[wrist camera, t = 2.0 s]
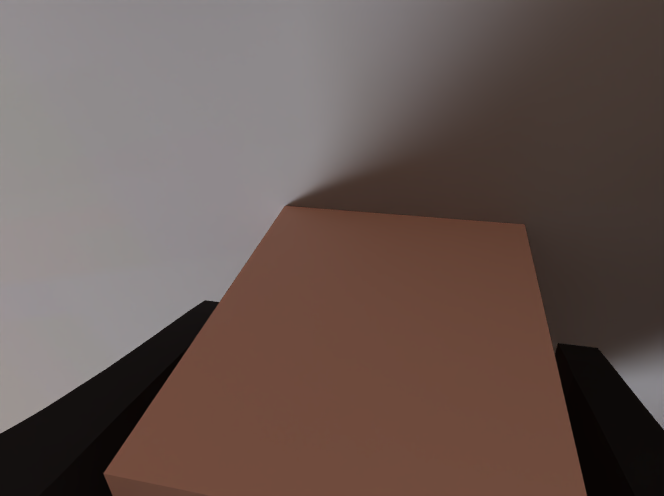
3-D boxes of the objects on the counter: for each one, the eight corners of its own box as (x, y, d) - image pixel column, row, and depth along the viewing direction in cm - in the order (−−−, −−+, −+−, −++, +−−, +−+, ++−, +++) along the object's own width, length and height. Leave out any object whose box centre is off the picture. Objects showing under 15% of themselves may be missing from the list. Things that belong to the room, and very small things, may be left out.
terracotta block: (489, 398, 11) (513, 761, 6) (298, 370, 12) (185, 667, 7) (524, 223, 9) (605, 577, 4) (285, 205, 10) (103, 473, 5)
